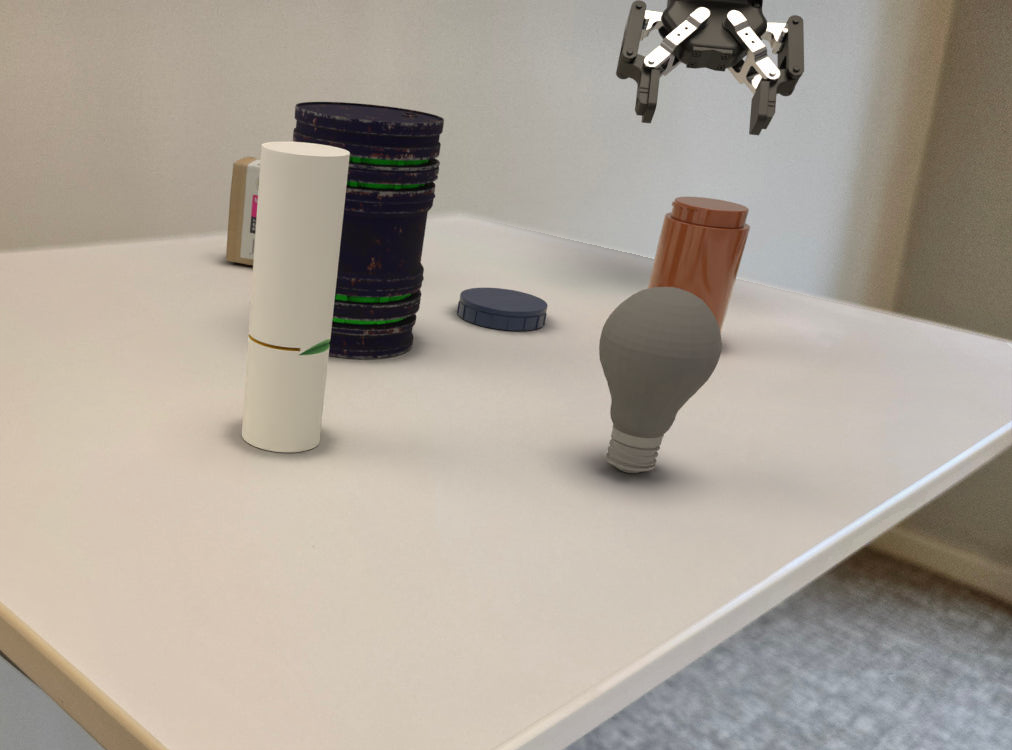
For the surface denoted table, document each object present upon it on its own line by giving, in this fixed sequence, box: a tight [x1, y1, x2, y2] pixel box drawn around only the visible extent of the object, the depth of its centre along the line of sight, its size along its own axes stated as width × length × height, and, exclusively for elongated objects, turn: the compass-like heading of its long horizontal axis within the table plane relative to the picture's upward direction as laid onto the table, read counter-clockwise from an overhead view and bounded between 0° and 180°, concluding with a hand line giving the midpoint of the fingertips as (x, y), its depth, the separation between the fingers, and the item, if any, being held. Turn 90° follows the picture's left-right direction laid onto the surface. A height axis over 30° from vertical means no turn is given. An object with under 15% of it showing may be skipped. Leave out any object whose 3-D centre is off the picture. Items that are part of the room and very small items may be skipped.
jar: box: [646, 196, 751, 334], centre depth 81 cm, size 6×6×10 cm
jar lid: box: [456, 287, 548, 332], centre depth 84 cm, size 7×7×2 cm
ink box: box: [225, 156, 261, 266], centre depth 91 cm, size 10×4×8 cm, turn 73°
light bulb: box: [598, 287, 723, 474], centre depth 57 cm, size 6×6×10 cm
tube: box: [241, 141, 350, 453], centre depth 55 cm, size 4×4×15 cm
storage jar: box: [292, 101, 445, 360], centre depth 73 cm, size 10×10×15 cm
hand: (703, 122), depth 86 cm, fingers open, 8 cm apart
